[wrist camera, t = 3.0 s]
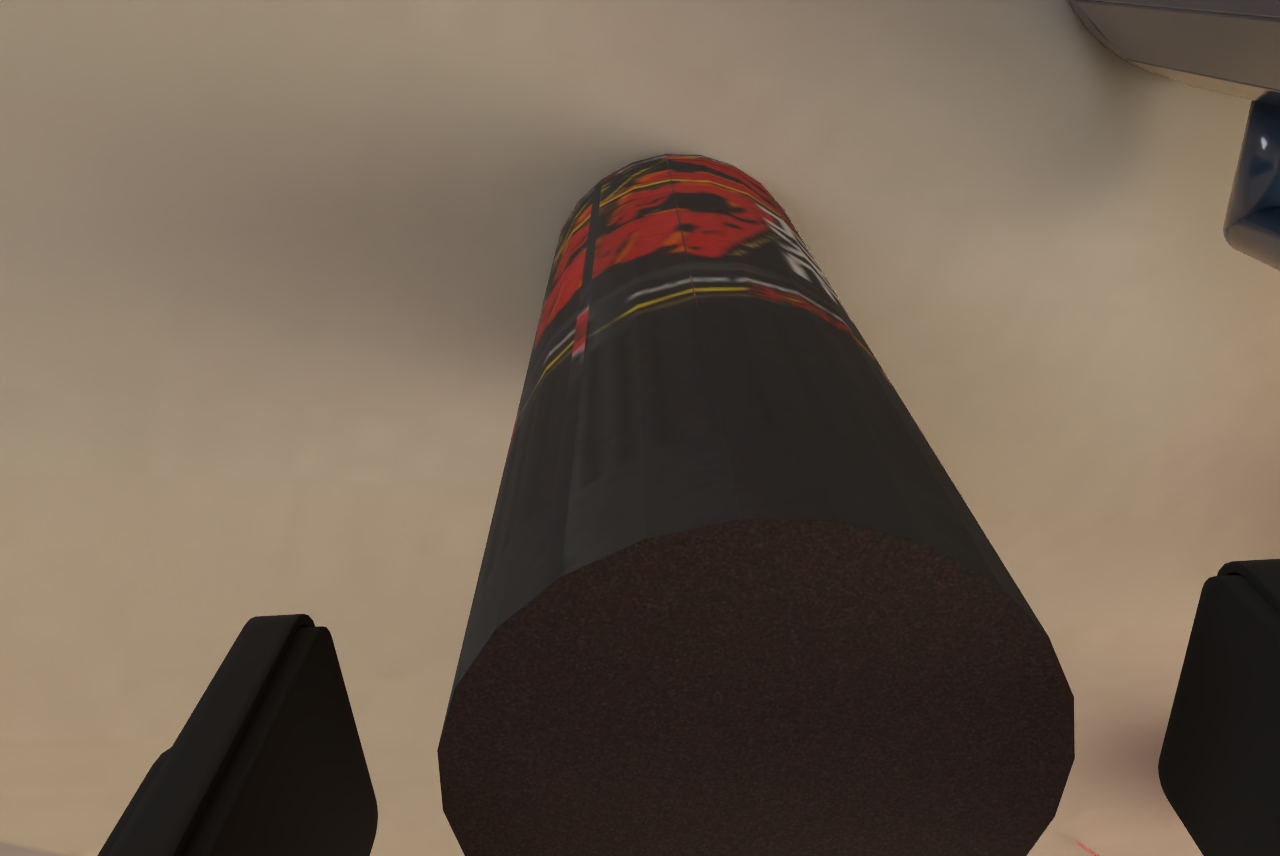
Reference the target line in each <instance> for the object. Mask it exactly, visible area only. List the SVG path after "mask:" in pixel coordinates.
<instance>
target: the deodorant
mask: <svg viewBox="0 0 1280 856" xmlns="http://www.w3.org/2000/svg"><path fill="white" fill-rule="evenodd" d="M1074 758H1075V753H1074V696H1073V694H1072V692H1071V689H1070V687H1069V684H1068V682H1067V680H1066V677H1065V675H1064V672H1063V670H1062V668H1061V665H1060V663H1059V660H1058V658H1057V656H1056V653H1055V651H1054V648H1053V646H1052V644H1051V641H1050V639H1049V637H1048V635H1047V633H1046V632H1045V630H1044V629H1043V627H1042V625H1041V624H1040V622H1039V621H1038V619H1037V617H1036V616H1035V614H1034V613H1033V611H1032V609H1031V608H1030V606H1029V604H1028V603H1027V601H1026V600H1025V598H1024V596H1023V595H1022V593H1021V592H1020V590H1019V588H1018V587H1017V585H1016V584H1015V582H1014V580H1013V579H1012V577H1011V576H1010V574H1009V572H1008V571H1007V569H1006V567H1005V566H1004V564H1003V563H1002V561H1001V559H1000V558H999V556H998V555H997V553H996V551H995V550H994V548H993V547H992V545H991V543H990V542H989V540H988V539H987V537H986V535H985V534H984V532H983V530H982V529H981V527H980V526H979V524H978V522H977V521H976V519H975V518H974V516H973V514H972V513H971V511H970V510H969V508H968V506H967V505H966V503H965V501H964V500H963V498H962V497H961V495H960V493H959V492H958V490H957V489H956V487H955V485H954V484H953V482H952V481H951V479H950V477H949V476H948V474H947V473H946V471H945V469H944V468H943V466H942V464H941V463H940V461H939V460H938V458H937V456H936V455H935V453H934V452H933V450H932V448H931V447H930V445H929V444H928V442H927V440H926V439H925V437H924V436H923V434H922V432H921V431H920V429H919V427H918V426H917V424H916V423H915V421H914V419H913V418H912V416H911V415H910V413H909V411H908V410H907V408H906V407H905V405H904V403H903V402H902V400H901V398H900V397H899V395H898V394H897V392H896V390H895V389H894V387H893V386H892V384H891V382H890V381H889V379H888V378H887V376H886V374H885V373H884V371H883V370H882V368H881V366H880V365H879V363H878V361H877V360H876V358H875V357H874V355H873V353H872V352H871V350H870V349H869V347H868V345H867V344H866V342H865V341H864V339H863V337H862V336H861V334H860V333H859V331H858V329H857V328H856V326H855V324H854V323H853V321H852V320H851V318H850V316H849V315H848V313H847V312H846V310H845V308H844V307H843V305H842V304H841V302H840V300H839V299H838V297H837V295H836V294H835V292H834V291H833V289H832V287H831V286H830V284H829V283H828V281H827V279H826V278H825V276H824V275H823V273H822V271H821V270H820V268H819V267H818V265H817V263H816V262H815V260H814V258H813V257H812V255H811V254H810V252H809V250H808V249H807V247H806V246H805V244H804V242H803V241H802V239H801V238H800V236H799V234H798V233H797V231H796V230H795V228H794V226H793V225H792V223H791V221H790V220H789V218H788V217H787V215H786V213H785V212H784V210H783V209H782V207H781V206H780V205H779V204H778V203H777V202H776V200H775V199H774V198H773V197H772V196H771V195H770V194H769V192H768V191H767V190H766V189H765V188H764V187H763V185H762V184H761V183H759V182H758V181H756V180H755V179H753V178H751V177H750V176H748V175H747V174H745V173H744V172H742V171H741V170H739V169H738V168H736V167H734V166H733V165H730V164H727V163H723V162H720V161H717V160H714V159H710V158H707V157H704V156H701V155H668V154H666V155H662V156H657V157H653V158H649V159H645V160H641V161H637V162H633V163H631V164H629V165H627V166H626V167H624V168H622V169H620V170H618V171H616V172H615V173H613V174H611V175H609V176H607V177H605V178H604V179H602V180H601V181H600V182H599V183H598V184H597V185H596V186H595V187H594V188H593V189H592V190H591V191H590V192H589V193H588V194H587V195H585V196H584V197H583V198H582V199H581V200H580V201H579V202H578V204H577V205H576V207H575V209H574V210H573V212H572V214H571V216H570V217H569V219H568V221H567V222H566V224H565V226H564V227H563V229H562V231H561V234H560V238H559V242H558V245H557V249H556V253H555V257H554V260H553V264H552V269H551V273H550V277H549V281H548V286H547V290H546V294H545V298H544V302H543V307H542V311H541V315H540V319H539V324H538V328H537V332H536V336H535V341H534V345H533V349H532V353H531V357H530V362H529V366H528V370H527V374H526V379H525V383H524V387H523V391H522V396H521V400H520V404H519V408H518V412H517V417H516V421H515V425H514V429H513V434H512V438H511V442H510V446H509V450H508V455H507V459H506V463H505V467H504V472H503V476H502V480H501V484H500V489H499V493H498V497H497V501H496V505H495V510H494V514H493V518H492V522H491V527H490V531H489V535H488V539H487V544H486V548H485V552H484V556H483V560H482V565H481V569H480V573H479V577H478V582H477V586H476V590H475V594H474V598H473V603H472V607H471V611H470V615H469V620H468V624H467V628H466V632H465V637H464V641H463V645H462V649H461V653H460V658H459V662H458V666H457V670H456V675H455V679H454V683H453V687H452V692H451V696H450V700H449V704H448V708H447V713H446V717H445V721H444V725H443V730H442V734H441V738H440V742H439V747H438V761H439V772H440V783H441V793H442V804H443V811H444V813H445V815H446V817H447V819H448V822H449V824H450V826H451V828H452V830H453V832H454V834H455V836H456V838H457V840H458V842H459V844H460V846H461V849H462V851H463V853H464V855H465V856H1026V855H1027V854H1028V853H1029V851H1030V850H1031V849H1032V847H1033V846H1034V844H1035V843H1036V842H1037V840H1038V839H1039V837H1040V836H1041V835H1042V833H1043V832H1044V831H1045V829H1046V828H1047V826H1048V825H1049V824H1050V822H1051V821H1052V820H1053V818H1054V817H1055V814H1056V811H1057V808H1058V805H1059V802H1060V799H1061V797H1062V794H1063V791H1064V788H1065V785H1066V782H1067V779H1068V776H1069V773H1070V770H1071V767H1072V764H1073V761H1074Z"/></svg>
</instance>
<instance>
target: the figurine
mask: <svg viewBox="0 0 1280 856" xmlns="http://www.w3.org/2000/svg"><path fill="white" fill-rule="evenodd" d="M1076 842H1077V841H1076ZM1077 844H1078V845H1079V846H1081V847H1082V848H1084V849H1085V850H1087V851H1089V852H1090V853H1092V854H1093V855H1095V856H1098V855H1097V854H1095V853H1094V852H1092V851H1091V850H1089V849H1088V848H1086V847H1085V846H1083V845H1082V844H1080V843H1079V842H1077Z"/></svg>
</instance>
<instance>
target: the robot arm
mask: <svg viewBox="0 0 1280 856" xmlns="http://www.w3.org/2000/svg"><path fill="white" fill-rule="evenodd" d="M1158 769H1159V778H1160V782H1161V786H1162V788H1163V791H1164V793H1165V795H1166V797H1167V799H1168V801H1169V802H1170V804H1171V806H1172V807H1173V809H1174V810H1175V812H1176V813H1177V815H1178V816H1179V818H1180V820H1181V821H1182V823H1183V824H1184V826H1185V827H1186V829H1187V830H1188V832H1189V834H1190V835H1191V837H1192V838H1193V840H1194V841H1195V843H1196V845H1197V846H1198V848H1199V849H1200V851H1201V852H1202V854H1203V855H1204V856H1280V559H1269V560H1251V561H1233V562H1229V563H1226V564H1224V565H1223V566H1222V568H1221V569H1220V570H1219V572H1218V574H1217V576H1214V577H1211V578H1209V579H1208V580H1207V581H1206V582H1205V583H1204V586H1203V588H1202V592H1201V596H1200V600H1199V604H1198V608H1197V611H1196V615H1195V619H1194V623H1193V627H1192V631H1191V635H1190V639H1189V643H1188V647H1187V651H1186V655H1185V659H1184V663H1183V667H1182V671H1181V675H1180V679H1179V683H1178V687H1177V691H1176V695H1175V699H1174V703H1173V707H1172V710H1171V714H1170V718H1169V722H1168V726H1167V730H1166V734H1165V738H1164V742H1163V746H1162V750H1161V754H1160V758H1159V765H1158ZM377 820H378V811H377V802H376V798H375V794H374V790H373V787H372V783H371V779H370V775H369V772H368V768H367V764H366V761H365V757H364V753H363V750H362V746H361V742H360V739H359V735H358V731H357V728H356V724H355V720H354V717H353V713H352V709H351V706H350V702H349V698H348V695H347V691H346V687H345V684H344V680H343V676H342V673H341V669H340V665H339V662H338V658H337V654H336V651H335V647H334V643H333V640H332V636H331V634H330V631H329V630H328V629H327V627H315V625H314V622H313V620H312V619H311V618H310V617H309V615H306V614H295V615H277V616H259V617H254V618H251V619H250V620H249V621H248V622H247V623H246V624H245V626H244V627H243V629H242V631H241V632H240V634H239V636H238V637H237V639H236V641H235V642H234V644H233V646H232V647H231V649H230V651H229V652H228V654H227V656H226V657H225V659H224V661H223V662H222V664H221V666H220V667H219V669H218V671H217V673H216V674H215V676H214V678H213V679H212V681H211V683H210V684H209V686H208V688H207V689H206V691H205V693H204V694H203V696H202V698H201V699H200V701H199V703H198V704H197V706H196V708H195V709H194V711H193V713H192V714H191V716H190V718H189V719H188V721H187V723H186V724H185V726H184V728H183V729H182V731H181V733H180V734H179V736H178V738H177V739H176V741H175V743H174V744H173V746H172V747H171V748H170V749H168V750H167V751H165V752H164V753H162V754H161V755H160V757H159V758H158V759H157V760H156V762H155V763H154V764H153V766H152V767H151V769H150V770H149V772H148V774H147V775H146V777H145V778H144V780H143V782H142V783H141V785H140V787H139V788H138V790H137V792H136V793H135V795H134V797H133V798H132V800H131V801H130V803H129V805H128V806H127V808H126V810H125V811H124V813H123V815H122V816H121V818H120V820H119V821H118V823H117V825H116V826H115V828H114V829H113V831H112V833H111V834H110V836H109V838H108V839H107V841H106V843H105V844H104V846H103V848H102V849H101V851H100V852H99V854H98V856H370V853H371V849H372V846H373V843H374V839H375V835H376V830H377Z"/></svg>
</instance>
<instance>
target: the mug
mask: <svg viewBox="0 0 1280 856" xmlns="http://www.w3.org/2000/svg"><path fill="white" fill-rule="evenodd" d="M1069 2H1070V4H1071V6H1072V8H1073V10H1074V11H1075V13H1076V14H1077V15H1078V17H1079V18H1080V20H1081V21H1082V22H1083V24H1084V25H1085V27H1086V28H1087V29H1088V30H1089V31H1090V32H1091V33H1092V34H1093V35H1094V36H1095V37H1096V38H1097V39H1098V40H1099V41H1100V42H1101V43H1102V44H1103V45H1104V46H1105V47H1106V48H1108V49H1109V50H1110V51H1112V52H1113V53H1115V54H1116V55H1117V56H1119V57H1120V58H1122V59H1123V60H1125V61H1127V62H1129V63H1131V64H1133V65H1135V66H1137V67H1139V68H1141V69H1143V70H1145V71H1148V72H1151V73H1155V74H1158V75H1161V76H1164V77H1168V78H1171V79H1174V80H1176V81H1179V82H1181V83H1184V84H1186V85H1189V86H1191V87H1196V88H1200V89H1205V90H1209V91H1213V92H1218V93H1222V94H1226V95H1231V96H1235V97H1240V98H1244V99H1248V100H1252V102H1251V107H1250V111H1249V116H1248V120H1247V124H1246V129H1245V133H1244V138H1243V142H1242V147H1241V151H1240V155H1239V160H1238V164H1237V169H1236V173H1235V177H1234V182H1233V186H1232V191H1231V195H1230V200H1229V204H1228V209H1227V213H1226V217H1225V222H1224V227H1223V231H1224V237H1225V239H1226V241H1227V242H1228V244H1229V245H1230V246H1231V247H1232V248H1234V249H1235V250H1237V251H1239V252H1241V253H1244V254H1246V255H1248V256H1250V257H1252V258H1254V259H1256V260H1258V261H1260V262H1262V263H1264V264H1266V265H1269V266H1271V267H1273V268H1275V269H1277V270H1279V271H1280V0H1069Z"/></svg>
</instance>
